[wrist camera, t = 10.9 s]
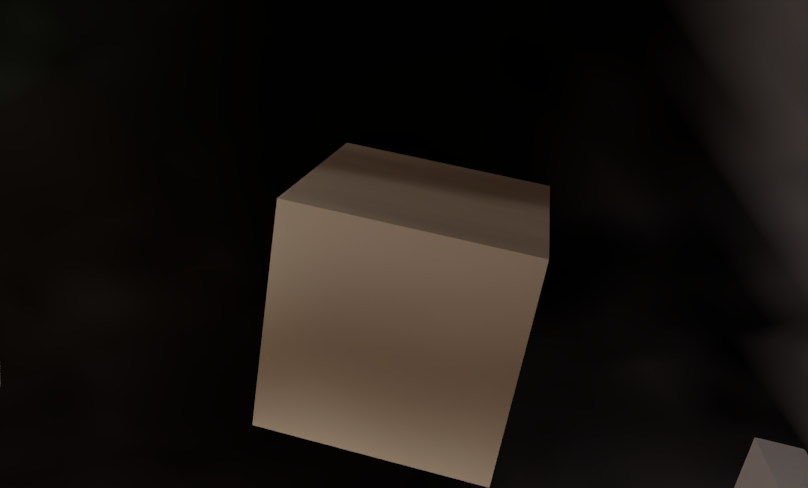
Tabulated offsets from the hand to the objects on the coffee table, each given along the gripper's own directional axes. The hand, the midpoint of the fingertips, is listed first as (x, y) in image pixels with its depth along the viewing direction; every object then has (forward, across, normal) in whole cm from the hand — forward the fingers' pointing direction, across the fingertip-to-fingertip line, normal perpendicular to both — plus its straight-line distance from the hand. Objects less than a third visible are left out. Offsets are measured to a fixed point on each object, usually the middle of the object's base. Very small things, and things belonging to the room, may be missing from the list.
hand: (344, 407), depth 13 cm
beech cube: (+7, 0, 0) cm, 7 cm away
